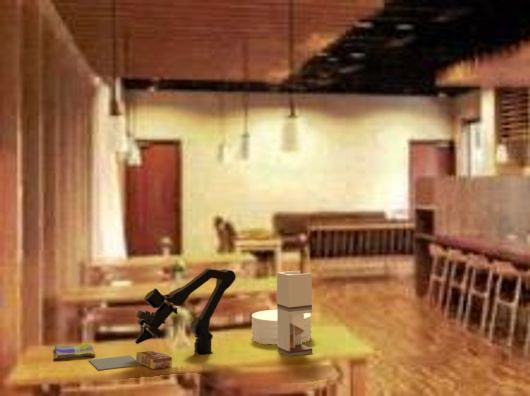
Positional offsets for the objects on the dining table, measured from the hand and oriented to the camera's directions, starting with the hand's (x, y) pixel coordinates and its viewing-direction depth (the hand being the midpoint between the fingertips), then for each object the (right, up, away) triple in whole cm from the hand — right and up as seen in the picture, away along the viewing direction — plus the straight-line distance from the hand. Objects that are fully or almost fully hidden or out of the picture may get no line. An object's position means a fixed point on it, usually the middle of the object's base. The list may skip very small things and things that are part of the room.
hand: (136, 343), depth 335 cm
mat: (-8, -8, -4) cm, 12 cm away
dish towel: (-30, -8, +15) cm, 34 cm away
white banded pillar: (+68, -6, +12) cm, 69 cm away
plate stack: (+62, -5, +40) cm, 74 cm away
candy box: (+4, -5, -1) cm, 7 cm away
